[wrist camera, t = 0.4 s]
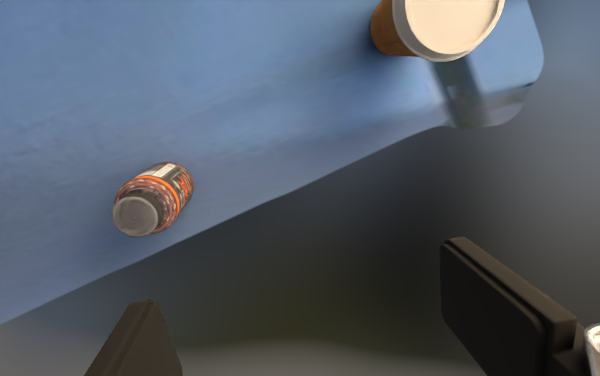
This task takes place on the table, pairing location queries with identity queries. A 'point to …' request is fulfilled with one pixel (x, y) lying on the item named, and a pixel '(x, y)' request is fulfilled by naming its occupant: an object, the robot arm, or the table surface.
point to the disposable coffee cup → (433, 27)
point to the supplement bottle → (152, 200)
